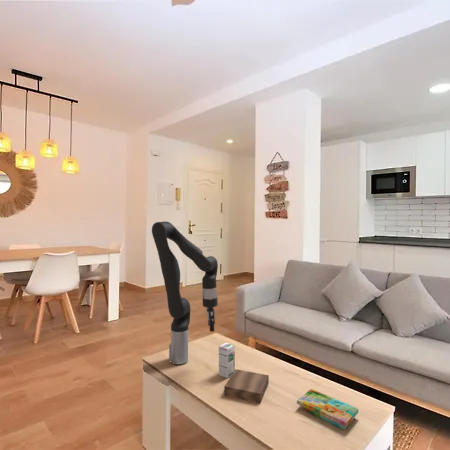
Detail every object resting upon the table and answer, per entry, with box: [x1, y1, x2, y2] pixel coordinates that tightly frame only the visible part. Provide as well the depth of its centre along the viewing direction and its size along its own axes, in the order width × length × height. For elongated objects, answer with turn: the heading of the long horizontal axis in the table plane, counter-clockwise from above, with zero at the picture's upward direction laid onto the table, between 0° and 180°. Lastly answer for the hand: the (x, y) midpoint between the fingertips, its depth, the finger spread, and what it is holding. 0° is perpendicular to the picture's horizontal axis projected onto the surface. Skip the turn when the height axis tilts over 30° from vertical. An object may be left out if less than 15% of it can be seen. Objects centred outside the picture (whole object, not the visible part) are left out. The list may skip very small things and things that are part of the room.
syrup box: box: [218, 342, 236, 379], centre depth 151 cm, size 6×6×14 cm
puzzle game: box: [296, 388, 359, 431], centre depth 122 cm, size 12×5×20 cm
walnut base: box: [223, 368, 270, 404], centre depth 138 cm, size 16×16×4 cm
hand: (211, 328), depth 156 cm, fingers open, 8 cm apart
